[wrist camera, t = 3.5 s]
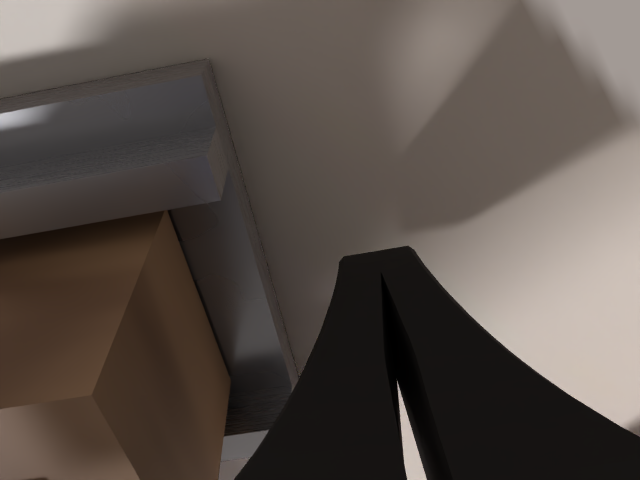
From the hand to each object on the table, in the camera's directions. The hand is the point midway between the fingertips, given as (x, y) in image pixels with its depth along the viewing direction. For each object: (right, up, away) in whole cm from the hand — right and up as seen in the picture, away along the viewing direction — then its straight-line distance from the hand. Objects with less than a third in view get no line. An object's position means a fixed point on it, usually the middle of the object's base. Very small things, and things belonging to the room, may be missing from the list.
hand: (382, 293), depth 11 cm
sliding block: (-6, -1, +1) cm, 6 cm away
